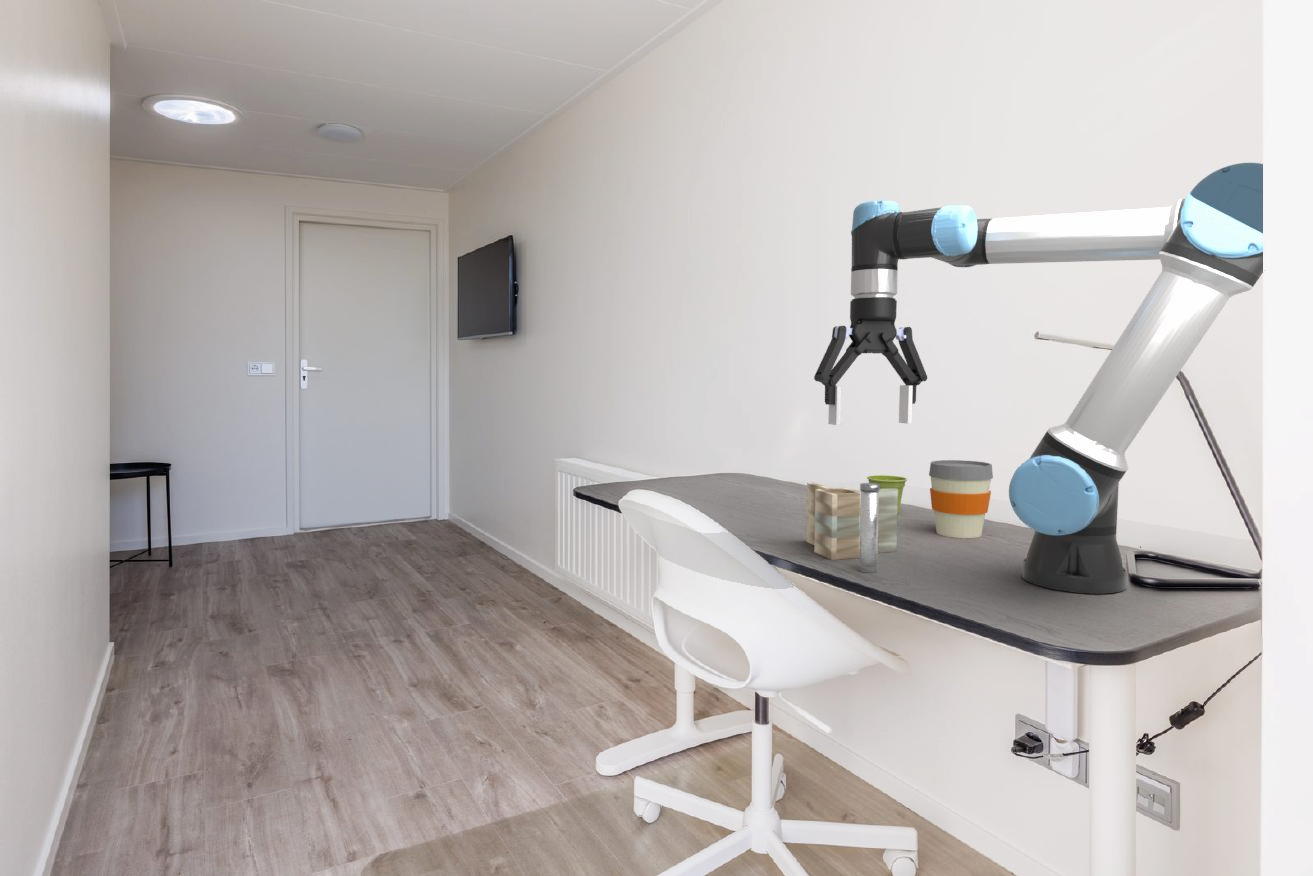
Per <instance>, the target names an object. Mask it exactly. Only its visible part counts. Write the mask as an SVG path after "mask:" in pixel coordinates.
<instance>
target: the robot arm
mask: <svg viewBox="0 0 1313 876" xmlns="http://www.w3.org/2000/svg"><path fill="white" fill-rule="evenodd" d="M1263 164H1264V163H1259V162H1241V163H1234V164H1231V165H1226V166H1224V167H1221V168H1219V169H1217V170H1214V171H1213V172H1211V173H1210V174H1208V175H1206V176H1205V177H1203V178H1202V179H1201V180H1199V182H1198V183H1196V185H1195V186H1194V187H1193V188H1192V189H1191V191H1190V192H1189V193H1188V195H1187V196H1186V198H1179V199H1178V200H1177V201H1176V202H1174V204H1172V205H1170V206H1163V207H1148V208H1147V207H1146V208H1132V209H1131V208H1130V209H1118V210H1117V209H1115V210H1102V211H1101V210H1099V211H1087V212H1086V211H1084V212H1071V213H1067V212H1066V213H1054V214H1053V213H1052V214H1051V213H1050V214H1041V215H1040V214H1039V215H1038V214H1037V215H1023V216H1020V215H1019V216H1008V217H993V218H977V216H976V213H975V211H974V209H973V207H971V206H970V205H964V204H963V205H949V204H948V205H945V206H940V207H934V208H927V209H926V208H925V209H921V210H913V211H904V212H902V211H901V210H900V205H899V204H898V202H895V201H893V200H871V201H865V202H862V203H859V204H858V205H856V207H855V208H854V210H853V214H852V225H851V226H852V227H851V231H850V235H851V270H850V271H851V274H850V275H851V276H850V295H851V297H853V299H851V300H850V302H849V303H850V304H849V305H850V306H849V307H850V308H849V319H850V326H849V327H847V326H846V325H836V326H834V327H833V328H832V334H831V335H832V336H831V340H830V342H829V344H828V346H827V348H826V351H825V353H824V355H823V357H822V359H821V361H820V363H819V365H818V368H817V370H816V373H815V374H814V376H813V377H814V378H813V380H815V382H818V383H821V384H822V385H823V386H824V403H825V405H828V422H827V423H828V425H833V426H841V418H842V413H841V412H842V385H837V384H838V383H839V381H840V380H841V379H842V377H843V376H844V375H845V374H846V373H847V371H848V370H849V369H850V367H851V366H852V365H853V363H854V362H855V361H856V360H857V358H858V357H859V356H860V355H861V356H862V354H881V355H883V356H884V357H885V358H886V360H887V362H888V363H890V365H891V367H892V368H893V369H894V371H895V372H896V374H897V375H898V377H899V378H900V380H902V382H903V385H902V384H900V385H899V400H898V401H899V403H898V423H900V424H907V425H909V424H910V425H911V424H913V405H915V404H916V402H917V386H919V385H921V383H923V382H926V381H927V379H928V375H927V373H926V370H925V367H924V364H923V362H922V359H921V358H920V355H919V352H918V350H917V347H916V345H915V342H914V339H913V329H912V327H911V326H904V327H899V328H896V325H895V322H896V319H897V304H898V303H897V301H898V300H896V298H894V296H896V295H898V271H899V270H898V268H899V267H898V266H899V265H898V264H899V260H909V259H924V258H926V259H927V258H932V259H935V260H936V261H937V260H938V261H941V262H943V263H946V264H948V265H950V266H953V267H955V268H971V267H975V266H978V265H980V266H982V265H997V264H998V265H999V264H1000V265H1001V264H1004V265H1005V264H1034V263H1036V264H1037V263H1040V264H1041V263H1070V262H1071V263H1072V262H1075V263H1076V262H1107V261H1109V262H1112V261H1113V262H1114V261H1115V262H1116V261H1117V262H1118V261H1146V260H1147V261H1149V260H1150V261H1151V260H1153V261H1154V260H1160V263H1161V266H1162V267H1161V269H1162V270H1161V272H1160V274H1159V275H1158V277H1157V278H1156V280H1155V281H1154V283H1153V284H1152V286H1151V287H1150V290H1149V291H1148V293H1147V294H1146V296H1145V297H1144V298H1143V300H1142V301H1141V304H1140V305H1139V307H1138V308H1137V309H1136V311H1135V313H1134V314H1133V316H1132V317H1131V318H1130V321H1128V322H1129V323H1128V324H1127V326H1126V327H1125V329H1124V330H1123V332H1122V333H1121V334H1120V336H1119V338H1118V339H1117V341H1116V342H1115V344H1114V345H1113V347H1112V349H1111V351H1110V352H1109V354H1108V356H1107V357H1106V358H1105V360H1104V362H1103V363H1102V365H1101V366H1100V368H1099V369H1098V371H1097V372H1096V374H1095V376H1094V377H1093V378H1092V380H1091V382H1090V384H1089V385H1088V386H1087V388H1086V390H1085V391H1084V393H1083V394H1082V396H1081V398H1080V400H1079V401H1078V402H1077V404H1076V405H1075V407H1074V409H1073V410H1072V412H1071V413H1070V415H1069V416H1068V417H1067V419H1066V421H1065V422H1064V423H1063V424H1060V425H1055V426H1052V427H1049V428H1048V429H1047V430H1046V432H1045V434H1044V435H1043V437H1042V438H1041V439H1040V441H1039V443H1038V445H1037V446H1036V447H1035V449H1034V450H1033V452H1032V454H1031V456H1030V457H1029V459H1027V460H1026V461H1024V462H1022V463H1021V464H1020V466H1018V467H1017V468H1016V470H1015V471H1014V472H1013V475H1012V477H1011V480H1010V481H1009V485H1008V499H1009V502H1010V506H1011V508H1012V511H1013V513H1014V514H1015V515H1016V516H1017V518H1018V519H1019V520H1020V521H1021V522H1022V523H1023V524H1024V525H1026V526H1027V527H1028V528H1030V529H1032V530H1033V531H1034V534H1033V537H1032V539H1031V542H1030V545H1029V548H1028V551H1027V554H1026V557H1025V558H1024V559H1023V560H1022V561H1023V562H1022V564H1021V577H1022V578H1023V580H1025V581H1026V582H1028V583H1031V584H1033V585H1036V586H1040V587H1042V588H1048V589H1051V590H1055V591H1057V590H1058V591H1062V592H1070V593H1079V594H1096V595H1097V594H1115V593H1120V592H1123V591H1125V590H1127V588H1128V585H1127V584H1128V572H1127V570H1126V569H1125V568H1124V565H1123V560H1122V555H1121V551H1120V547H1119V543H1118V541H1117V527H1118V526H1117V525H1118V508H1119V506H1118V505H1119V502H1118V501H1119V485H1120V483H1119V482H1120V481H1121V480H1122V479H1123V478H1124V476H1125V474H1126V473H1127V471H1128V469H1129V466H1128V464H1127V458H1126V451H1127V450H1128V448H1129V447H1130V445H1131V444H1132V443H1133V441H1134V440H1135V438H1136V437H1137V435H1138V433H1139V432H1140V430H1141V429H1142V428H1143V426H1144V425H1145V424H1146V422H1147V420H1148V419H1149V417H1150V416H1151V414H1152V413H1153V412H1154V410H1155V409H1156V407H1157V406H1158V404H1159V402H1160V401H1161V400H1162V398H1163V397H1164V396H1165V394H1166V392H1167V391H1168V390H1169V388H1170V386H1171V385H1172V383H1173V382H1174V381H1175V379H1176V378H1177V376H1178V375H1179V373H1180V372H1181V370H1182V369H1183V368H1184V366H1185V364H1186V363H1187V362H1188V360H1189V359H1190V357H1191V356H1192V354H1193V353H1194V351H1195V350H1196V348H1197V347H1198V345H1199V344H1200V342H1201V341H1202V339H1203V338H1204V336H1205V335H1206V333H1207V332H1208V331H1209V329H1210V328H1211V326H1212V325H1213V323H1215V320H1216V319H1217V317H1218V315H1219V314H1220V313H1221V312H1222V310H1223V308H1224V307H1225V306H1226V305H1227V303H1228V301H1229V299H1230V298H1232V297H1233V296H1235V295H1238V294H1242V293H1245V292H1248V291H1251V290H1252V289H1253V287H1254V286H1255V285H1256V283H1257V282H1258V281H1259V279H1260V278H1261V276H1262V275H1263V273H1264V272H1263ZM848 338H849V339H850V340H851V341H852V342H851V343H850V344H849V345H848V346H847V348H846V350H845V352H844V353H843V355H842V356H841V358H840V359H839V360H838V362H837V359H838V358H839V356H840V355H839V354H840V353H841V350H842V349H843V347H844V344H845V341H846V340H847V339H848ZM894 339H896V340H897V341H898V344H899V348H900V350H901V351H902V354H903V356H902V354H900V352H899V348H898V347H897V345H896V344H895V342H894ZM903 357H904V358H903Z"/></svg>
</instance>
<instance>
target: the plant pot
mask: <svg viewBox="0 0 1313 876" xmlns="http://www.w3.org/2000/svg"><path fill="white" fill-rule="evenodd" d="M866 479H867V480H868V483H875V484H879V485H880V489H886V488H896V489H898V504H897V515H899V514H900V510H901V509H900V508H901V503H902V498H903V497H902V496H903V491H904V488H905V486H906V482H907V481H908V478H907V477H904V476H898V475H887V474H886V475H884V474H880V475H878V474H875V475H868V476H867V477H866Z"/></svg>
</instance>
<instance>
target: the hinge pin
mask: <svg viewBox="0 0 1313 876" xmlns="http://www.w3.org/2000/svg"><path fill="white" fill-rule="evenodd" d="M859 490H861V501H860V551H859V558H858V560H859V562H858V564H859V565H858V570H859V572H862V573H869V574H871V573H877V572H878V507H879V490H880V485H879V484H875V483H869V482H863V483H860V484H859Z"/></svg>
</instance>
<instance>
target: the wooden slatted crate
mask: <svg viewBox="0 0 1313 876" xmlns="http://www.w3.org/2000/svg"><path fill="white" fill-rule="evenodd" d="M860 501H861V490H860V489H851V488H848V487H840V488H838V487H837V488H833V487H829V486H826V485H823V484H819V483H814V482H807V483H806V530H805V531H806V532H805V533H806V536H805V541H806V543H808V544H811V545H813V546H814V547H813V548H814V553H816V554H818V555H821V556H822V557H825V558H826V559H829V560H830V561H833V560H836V561H837V560H846V559H848V560H849V559H859V551H860ZM897 504H898V489H896V488H886V489H880V490H879V507H878V553H891V552H897V546H898V545H897V541H898V540H897V538H898V537H897V536H898V514H897ZM878 553H877V554H878Z"/></svg>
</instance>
